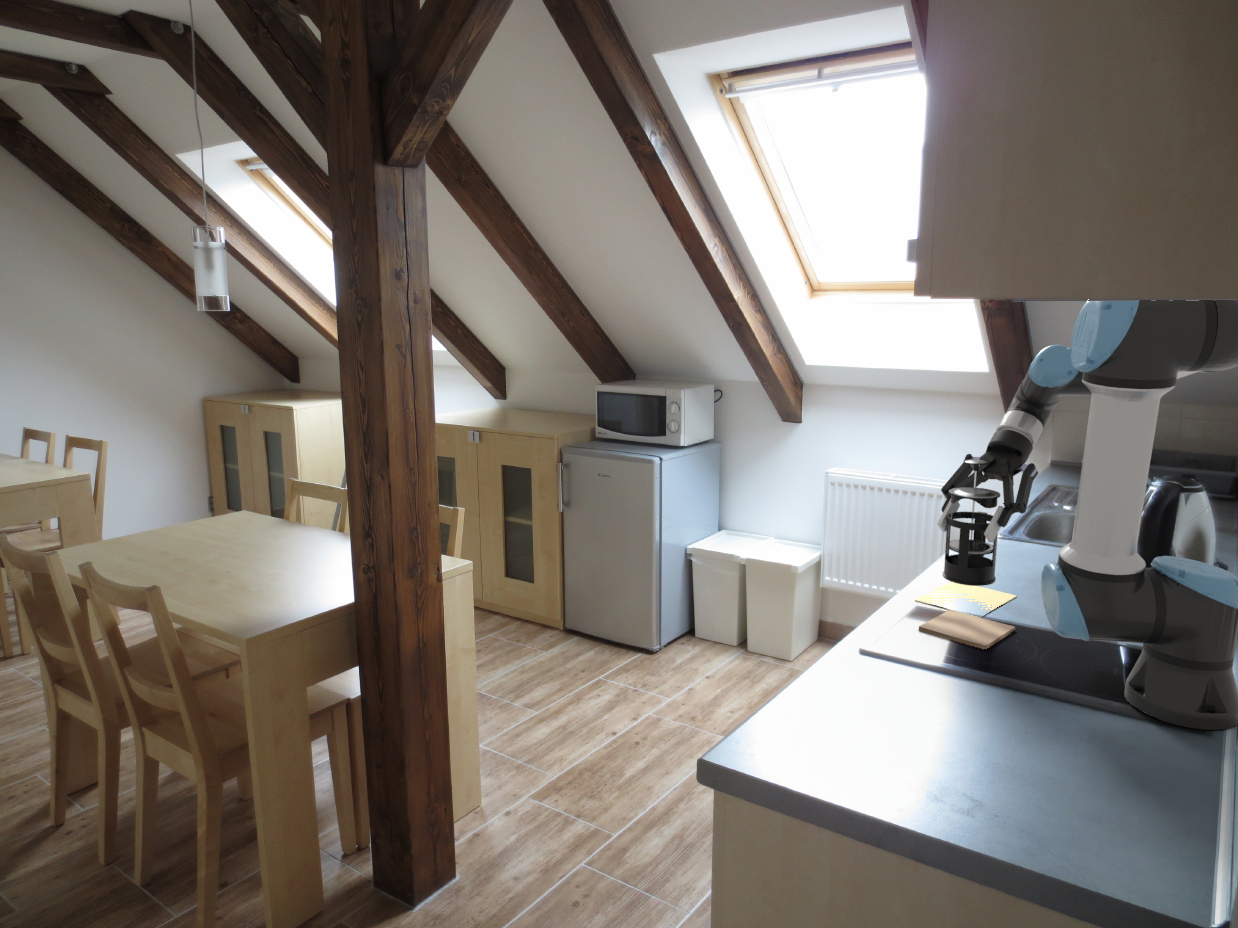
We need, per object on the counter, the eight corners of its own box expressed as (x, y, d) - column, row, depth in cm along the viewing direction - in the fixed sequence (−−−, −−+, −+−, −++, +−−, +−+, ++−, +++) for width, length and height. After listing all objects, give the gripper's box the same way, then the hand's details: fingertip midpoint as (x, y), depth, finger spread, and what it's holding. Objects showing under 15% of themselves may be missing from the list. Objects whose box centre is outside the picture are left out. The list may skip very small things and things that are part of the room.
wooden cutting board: (985, 649, 152) (985, 645, 151) (918, 630, 161) (918, 626, 161) (1014, 630, 160) (1015, 626, 160) (950, 612, 170) (950, 609, 169)
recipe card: (979, 618, 167) (979, 617, 166) (914, 600, 177) (915, 599, 177) (1017, 596, 178) (1017, 595, 178) (954, 581, 189) (954, 580, 189)
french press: (986, 590, 152) (994, 468, 147) (934, 580, 158) (941, 462, 153) (1004, 573, 161) (1012, 457, 156) (954, 564, 166) (961, 452, 162)
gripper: (1076, 459, 155) (1026, 557, 149) (969, 444, 172) (920, 531, 166) (1065, 434, 151) (1014, 534, 145) (956, 421, 168) (906, 510, 161)
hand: (964, 532), depth 155 cm, fingers closed on french press, 9 cm apart
